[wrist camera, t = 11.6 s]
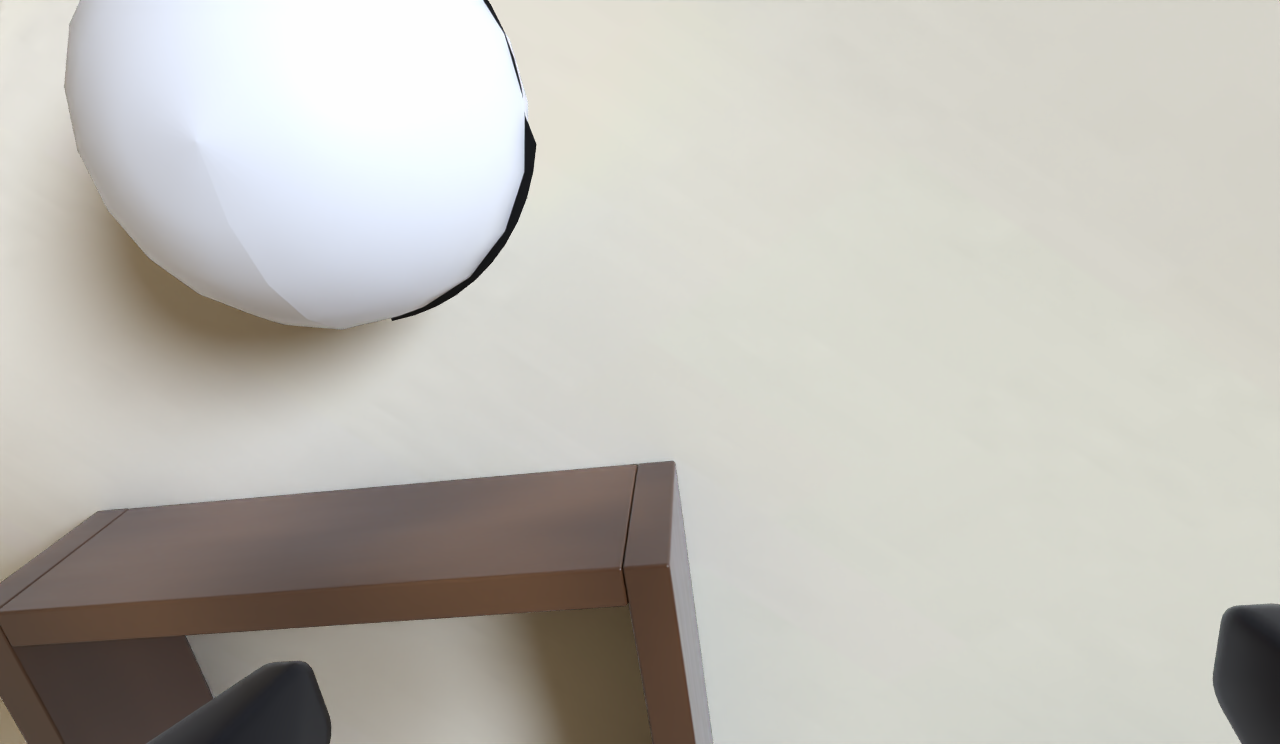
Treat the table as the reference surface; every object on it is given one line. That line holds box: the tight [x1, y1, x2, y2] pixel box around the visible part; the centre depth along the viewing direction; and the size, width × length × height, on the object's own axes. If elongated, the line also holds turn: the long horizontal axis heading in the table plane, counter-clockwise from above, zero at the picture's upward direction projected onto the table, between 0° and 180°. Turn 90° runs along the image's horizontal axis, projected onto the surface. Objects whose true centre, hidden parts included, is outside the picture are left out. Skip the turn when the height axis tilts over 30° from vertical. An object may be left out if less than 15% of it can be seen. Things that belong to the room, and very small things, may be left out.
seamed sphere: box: [64, 0, 536, 329], centre depth 13 cm, size 10×7×7 cm
